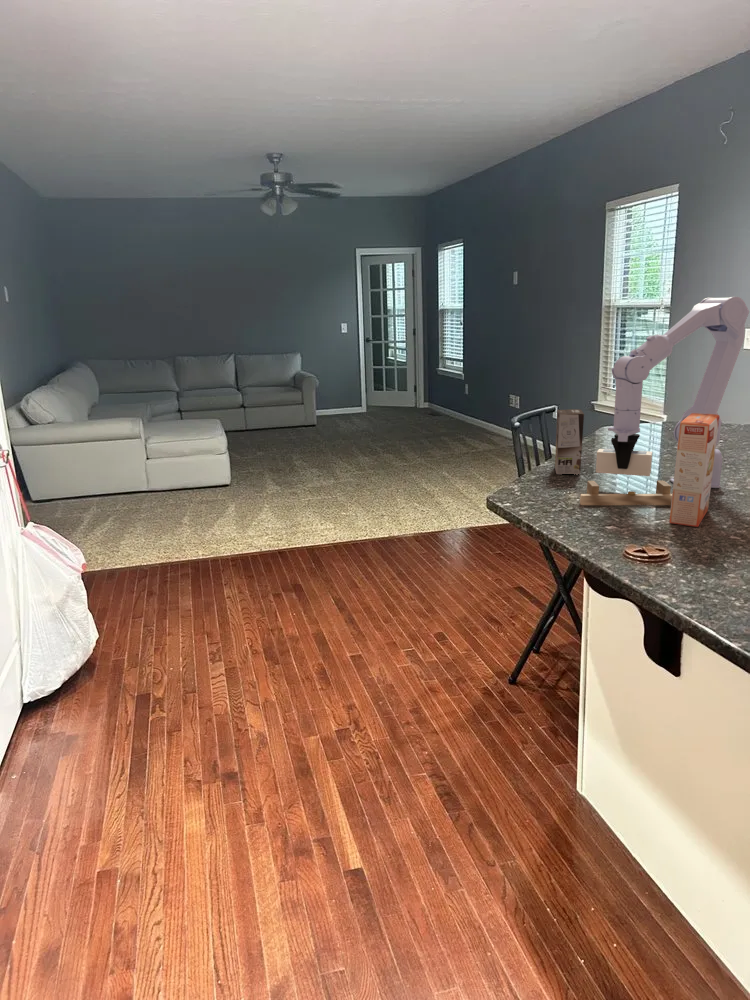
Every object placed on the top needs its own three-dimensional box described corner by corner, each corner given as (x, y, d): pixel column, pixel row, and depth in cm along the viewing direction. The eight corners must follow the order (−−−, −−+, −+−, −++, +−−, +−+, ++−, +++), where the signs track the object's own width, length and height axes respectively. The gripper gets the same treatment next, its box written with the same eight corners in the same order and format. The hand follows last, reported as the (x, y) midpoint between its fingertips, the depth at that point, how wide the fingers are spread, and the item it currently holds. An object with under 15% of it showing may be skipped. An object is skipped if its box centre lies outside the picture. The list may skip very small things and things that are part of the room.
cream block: (650, 472, 166) (652, 451, 165) (649, 476, 162) (651, 454, 161) (598, 468, 171) (599, 448, 169) (595, 472, 167) (596, 451, 166)
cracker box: (700, 528, 139) (711, 423, 133) (668, 524, 142) (677, 421, 136) (710, 510, 150) (721, 413, 145) (680, 507, 153) (689, 411, 148)
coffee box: (581, 475, 183) (584, 413, 179) (555, 474, 185) (558, 413, 180) (578, 467, 192) (581, 408, 188) (554, 467, 193) (557, 408, 189)
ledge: (673, 497, 161) (675, 480, 160) (683, 505, 155) (684, 487, 154) (575, 497, 163) (576, 480, 162) (581, 505, 156) (582, 487, 155)
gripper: (613, 404, 171) (609, 459, 174) (605, 413, 158) (601, 471, 162) (644, 405, 168) (639, 460, 171) (638, 414, 155) (634, 474, 159)
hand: (623, 466), depth 166 cm, fingers closed on cream block, 4 cm apart
